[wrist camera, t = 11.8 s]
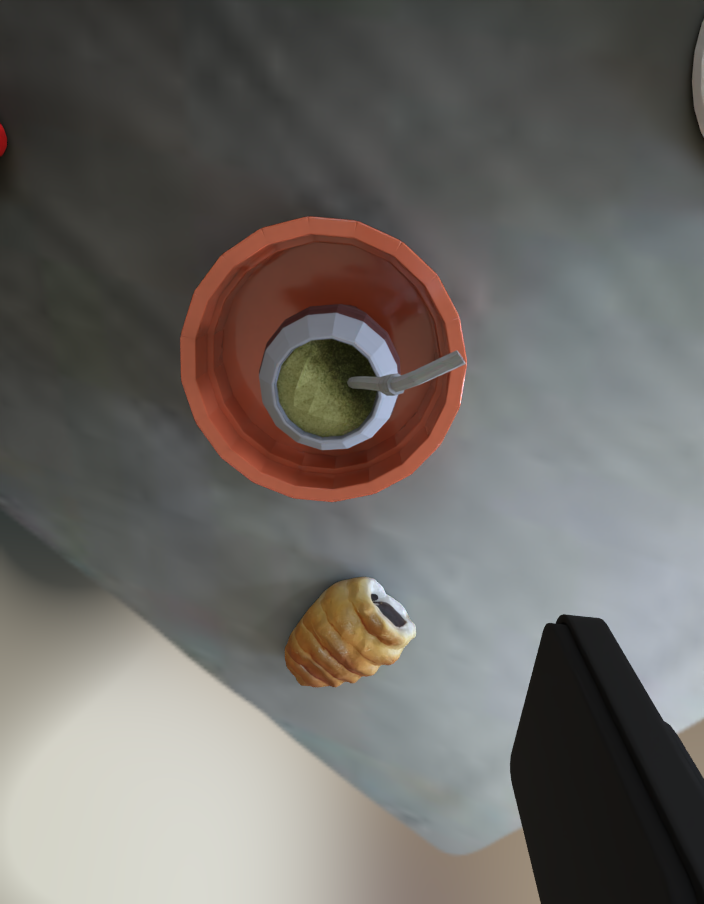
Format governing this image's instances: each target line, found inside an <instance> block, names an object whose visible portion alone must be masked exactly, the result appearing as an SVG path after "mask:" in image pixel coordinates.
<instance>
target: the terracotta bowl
mask: <svg viewBox="0 0 704 904" xmlns="http://www.w3.org/2000/svg"><path fill="white" fill-rule="evenodd" d="M333 304H344V305H352V306H355V307H357V308H358V309H360V310H362V311H364V312H366V313H367V314H368V315H369V316H370V317H371V318H372V319H373V320H374V321H376V322H377V323H378V324H379V325H380V326H381V327H382V328H383V329H384V330H385V331H387V332H388V334H389V336H390V338H391V341H392V343H393V345H394V347H395V349H396V351H397V353H398V355H399V357H400V369H401V375H404V374H406V373H409V372H412V371H414V370H416V369H418V368H420V367H422V366H424V365H426V364H429V363H431V362H433V361H435V360H437V359H439V358H441V357H443V356H445V355H448V354H450V353H452V352H454V351H456V350H457V351H458V352H459V353H460V355H461V356H462V358H463V359H464V361H465V363H466V362H467V358H466V352H465V346H464V340H463V333H462V327H461V321H460V318H459V314H458V313H457V311H456V309H455V307H454V305H453V303H452V301H451V299H450V297H449V295H448V294H447V292H446V290H445V288H444V286H443V284H442V282H441V280H440V278H439V276H437V274H436V273H435V272H434V271H433V270H432V269H431V268H430V267H429V266H428V265H427V264H426V263H425V262H424V261H423V260H422V259H421V258H419V257H418V256H417V255H416V254H415V253H414V252H413V251H412V250H411V249H410V248H409V247H408V246H407V245H406V244H405V243H404V242H401V240H399V239H397V238H394V237H392V236H390V235H388V234H386V233H383V232H381V231H379V230H377V229H375V228H373V227H370V226H368V225H366V224H364V223H362V222H359V221H356V220H347V219H336V218H325V217H314V216H309V217H307V216H306V217H302V218H298V219H294V220H290V221H286V222H282V223H278V224H274V225H271V226H267V227H263V228H262V229H259V230H257V231H256V232H254V233H253V234H251V235H250V236H248V237H247V238H245V239H244V240H242V241H241V242H239V243H238V244H236V245H235V246H233V247H232V248H230V249H229V250H228V251H226V252H225V253H223V254H222V255H221V256H220V257H219V258H218V260H217V261H216V262H215V264H214V265H213V266H212V268H211V269H210V271H209V272H208V273H207V275H206V276H205V277H204V279H203V280H202V281H201V283H200V284H199V286H198V287H197V288H196V290H195V291H194V294H193V296H192V299H191V303H190V306H189V309H188V312H187V316H186V319H185V322H184V325H183V328H182V332H181V336H180V356H181V380H182V384H183V387H184V390H185V393H186V396H187V399H188V402H189V405H190V408H191V411H192V414H193V417H194V420H195V421H196V424H197V425H198V427H199V428H200V429H201V431H202V432H203V434H204V435H205V436H206V438H207V439H208V440H209V442H210V443H211V445H212V446H213V447H214V449H215V450H216V452H217V453H218V454H219V456H221V458H222V459H223V460H225V461H226V462H227V463H229V464H230V465H231V466H232V467H234V468H235V469H236V470H238V471H239V472H240V473H241V474H243V475H244V476H245V477H247V478H248V479H249V480H251V481H252V482H253V483H256V484H258V485H261V486H263V487H266V488H268V489H271V490H273V491H276V492H278V493H281V494H283V495H286V496H288V497H291V498H292V497H293V498H295V499H306V500H317V501H327V502H336V501H341V500H346V499H351V498H356V497H361V496H367V495H372V494H375V493H377V492H379V491H381V490H383V489H385V488H387V487H389V486H390V485H392V484H394V483H396V482H398V481H400V480H402V479H404V478H406V477H407V476H409V475H410V474H412V473H413V472H414V471H415V470H416V469H417V468H418V467H419V466H420V465H421V464H422V463H423V462H424V461H425V460H426V459H427V458H428V457H429V456H430V455H431V454H432V453H433V452H434V451H435V450H436V449H437V448H438V447H439V446H440V444H441V443H442V441H443V439H444V437H445V435H446V433H447V431H448V429H449V428H450V426H451V424H452V422H453V420H454V418H455V416H456V414H457V412H458V410H459V408H460V405H461V399H462V392H463V386H464V380H465V374H466V367H467V363H466V364H465V365H462V366H460V367H458V368H456V369H454V370H452V371H449V372H447V373H445V374H443V375H440V376H438V377H436V378H434V379H431V380H429V381H427V382H425V383H423V384H420V385H417V386H414V387H412V388H409V389H406V390H404V392H403V393H402V394H399V397H398V399H397V402H396V405H395V408H394V410H393V413H392V415H391V416H390V418H389V419H388V420H387V421H386V422H385V424H384V425H383V426H382V427H381V428H380V429H379V430H378V431H377V432H376V433H375V434H374V436H373V437H371V438H369V439H367V440H365V441H363V442H361V443H359V444H357V445H354V446H352V447H350V448H348V449H333V450H320V449H317V448H313V447H310V446H307V445H304V444H301V443H297V442H296V441H294V440H293V439H292V438H291V437H289V436H288V435H287V434H286V433H284V432H283V431H282V430H281V429H279V428H278V427H277V426H276V425H275V423H274V422H273V420H272V418H271V416H270V415H269V413H268V411H267V409H266V408H265V406H264V404H263V402H262V395H261V388H260V381H259V369H260V365H261V362H262V358H263V354H264V351H265V347H266V344H267V342H268V340H269V339H270V338H271V337H272V335H273V334H274V333H275V332H276V330H277V329H278V328H279V326H280V325H281V324H282V323H283V321H284V320H285V319H287V318H289V317H291V316H293V315H295V314H296V313H298V312H300V311H302V310H304V309H306V308H308V307H310V306H321V305H333Z"/></svg>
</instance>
